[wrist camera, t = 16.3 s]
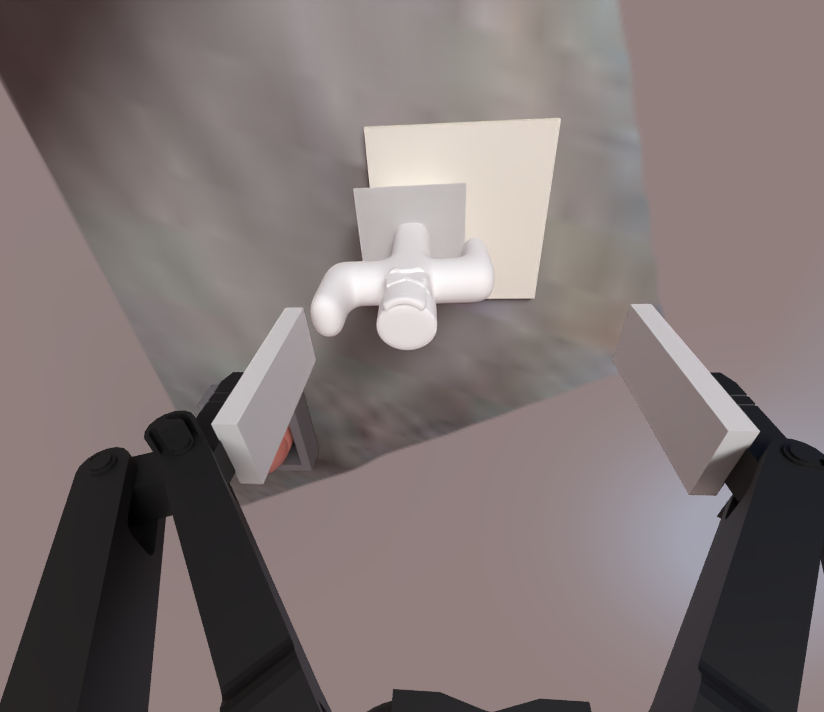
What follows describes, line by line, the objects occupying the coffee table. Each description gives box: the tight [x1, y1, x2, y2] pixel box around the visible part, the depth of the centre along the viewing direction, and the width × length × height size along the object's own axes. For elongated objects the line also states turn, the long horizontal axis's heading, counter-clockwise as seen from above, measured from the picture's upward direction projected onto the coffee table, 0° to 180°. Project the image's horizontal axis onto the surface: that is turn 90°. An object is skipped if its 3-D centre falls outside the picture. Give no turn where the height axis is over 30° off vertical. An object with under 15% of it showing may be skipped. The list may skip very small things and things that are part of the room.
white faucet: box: [311, 183, 495, 350], centre depth 24 cm, size 7×9×15 cm
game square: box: [364, 118, 561, 299], centre depth 30 cm, size 13×13×1 cm
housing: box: [197, 386, 319, 471], centre depth 44 cm, size 10×10×3 cm
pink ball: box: [268, 425, 294, 474], centre depth 42 cm, size 7×7×7 cm
